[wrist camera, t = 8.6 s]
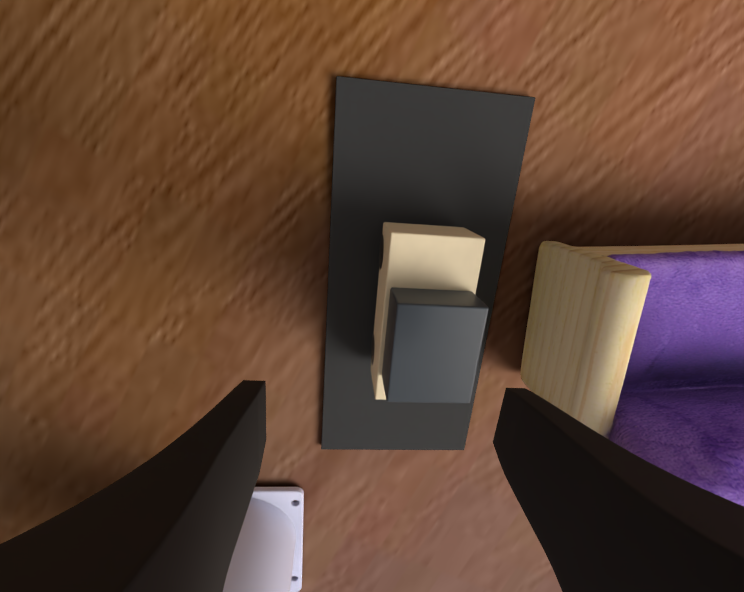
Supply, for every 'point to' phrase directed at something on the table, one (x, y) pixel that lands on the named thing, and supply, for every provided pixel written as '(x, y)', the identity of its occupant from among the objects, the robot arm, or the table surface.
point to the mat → (411, 206)
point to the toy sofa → (646, 352)
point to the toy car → (427, 314)
